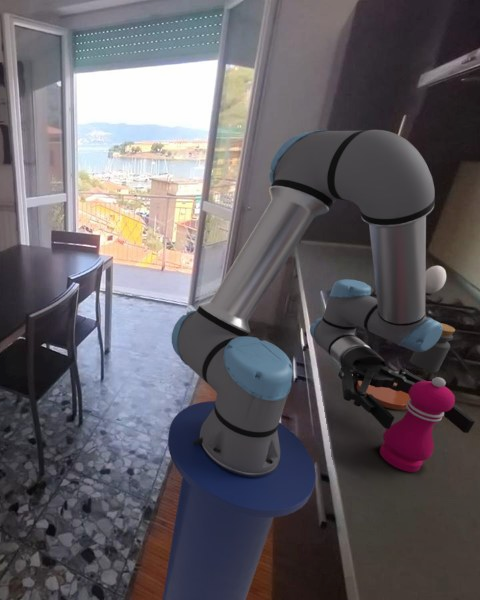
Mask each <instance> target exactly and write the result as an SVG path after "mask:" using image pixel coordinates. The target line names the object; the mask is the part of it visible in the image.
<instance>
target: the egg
mask: <svg viewBox="0 0 480 600" xmlns="http://www.w3.org/2000/svg"><path fill="white" fill-rule="evenodd" d="M446 281H447V272H446V269H445V268H444V267H443V266H441V265H432V266H430V267H429V268H427V269H426V282H425V294H429V295H430V294H435V293H437V292H439V291H440V290H441V289H443V288H444V285H445V284H446Z"/></svg>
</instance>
